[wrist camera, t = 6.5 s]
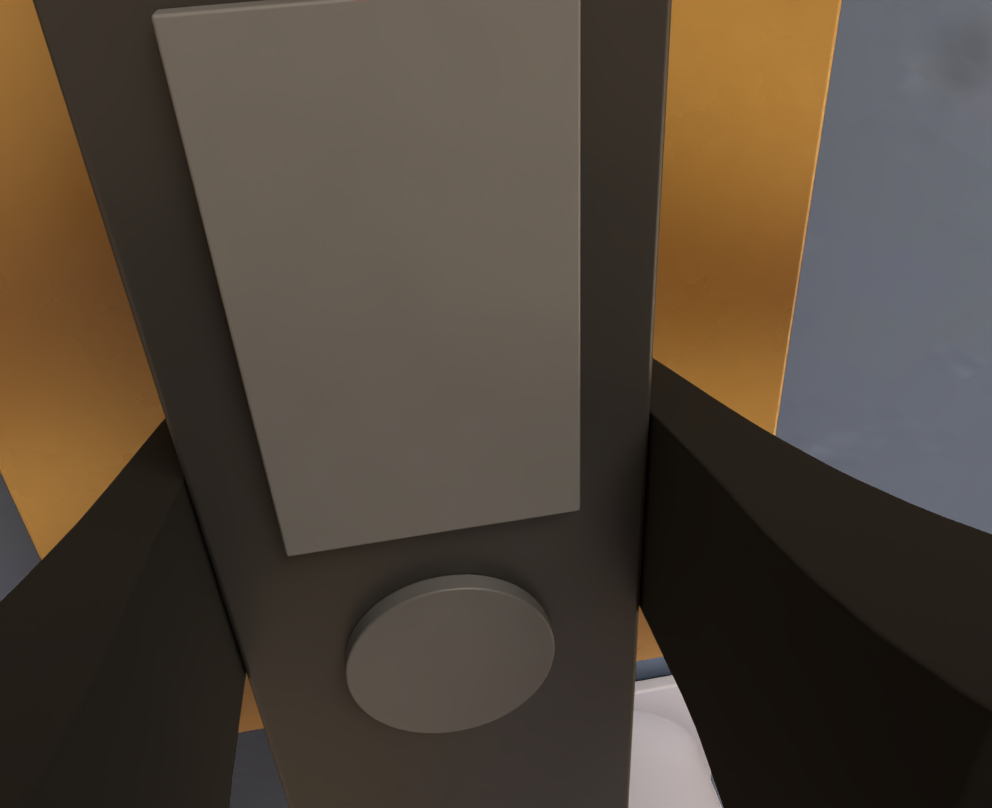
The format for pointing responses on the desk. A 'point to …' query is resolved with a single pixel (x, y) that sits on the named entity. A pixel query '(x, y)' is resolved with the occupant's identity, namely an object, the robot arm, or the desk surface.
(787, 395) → the desk surface
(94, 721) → the robot arm
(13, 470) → the footstool
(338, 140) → the remote
